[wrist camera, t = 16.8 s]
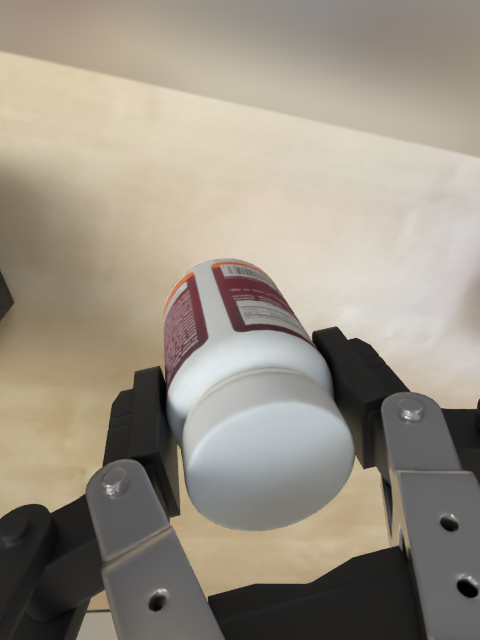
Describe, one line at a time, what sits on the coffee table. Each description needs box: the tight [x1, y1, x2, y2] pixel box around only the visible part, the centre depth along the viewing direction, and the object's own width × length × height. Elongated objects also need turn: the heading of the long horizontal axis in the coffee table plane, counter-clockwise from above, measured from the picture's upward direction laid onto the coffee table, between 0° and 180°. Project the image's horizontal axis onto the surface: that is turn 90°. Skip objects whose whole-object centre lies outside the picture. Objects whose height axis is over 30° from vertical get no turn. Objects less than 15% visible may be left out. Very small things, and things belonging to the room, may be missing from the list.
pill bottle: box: [163, 259, 355, 531], centre depth 13 cm, size 5×5×8 cm
